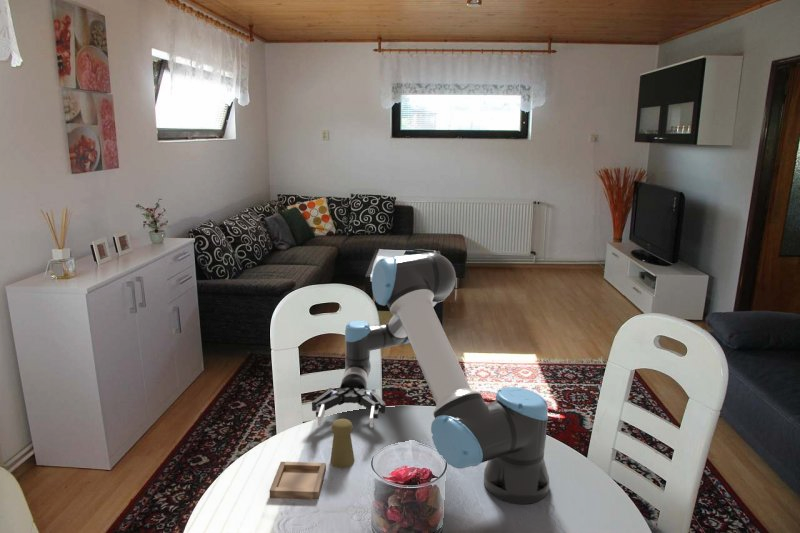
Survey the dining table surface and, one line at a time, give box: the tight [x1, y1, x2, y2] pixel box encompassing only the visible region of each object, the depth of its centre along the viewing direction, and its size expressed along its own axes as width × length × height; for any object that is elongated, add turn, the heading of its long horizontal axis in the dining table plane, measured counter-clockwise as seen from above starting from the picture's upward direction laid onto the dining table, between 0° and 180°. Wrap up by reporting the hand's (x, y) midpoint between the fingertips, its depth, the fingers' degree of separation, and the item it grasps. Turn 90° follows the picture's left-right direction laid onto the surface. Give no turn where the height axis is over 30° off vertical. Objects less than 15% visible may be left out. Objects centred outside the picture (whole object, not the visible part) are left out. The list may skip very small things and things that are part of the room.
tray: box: [269, 461, 327, 501], centre depth 133 cm, size 11×11×2 cm
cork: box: [329, 418, 356, 469], centre depth 141 cm, size 6×6×11 cm
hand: (345, 422), depth 148 cm, fingers open, 13 cm apart
